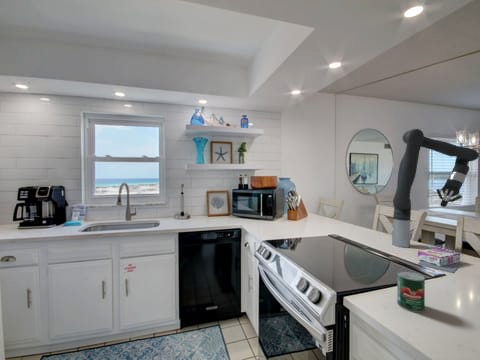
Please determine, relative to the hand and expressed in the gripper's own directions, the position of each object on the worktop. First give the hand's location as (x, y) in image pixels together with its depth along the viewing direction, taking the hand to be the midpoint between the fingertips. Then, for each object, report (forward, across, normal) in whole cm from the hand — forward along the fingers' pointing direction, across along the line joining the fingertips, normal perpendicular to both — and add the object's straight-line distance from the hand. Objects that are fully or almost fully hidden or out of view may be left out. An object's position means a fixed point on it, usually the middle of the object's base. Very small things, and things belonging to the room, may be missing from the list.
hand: (442, 206), depth 146 cm
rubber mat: (+32, +13, -24) cm, 42 cm away
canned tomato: (+47, +19, -80) cm, 94 cm away
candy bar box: (+25, +14, -12) cm, 31 cm away
